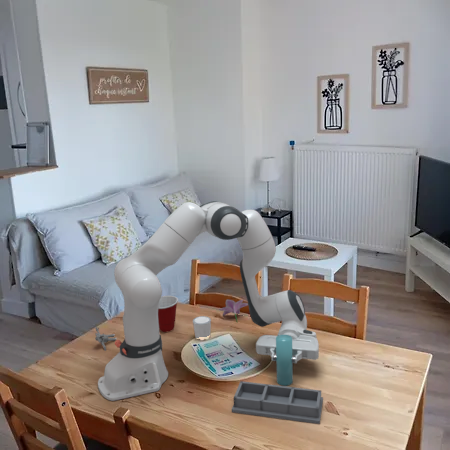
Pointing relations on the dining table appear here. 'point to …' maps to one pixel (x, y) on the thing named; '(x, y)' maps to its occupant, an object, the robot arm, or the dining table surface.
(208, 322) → the shot glass
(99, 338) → the grey humanoid figurine
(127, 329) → the robot arm
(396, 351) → the dining table surface
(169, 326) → the plastic cup
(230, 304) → the lily
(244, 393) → the cup rack
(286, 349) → the teal cylinder
